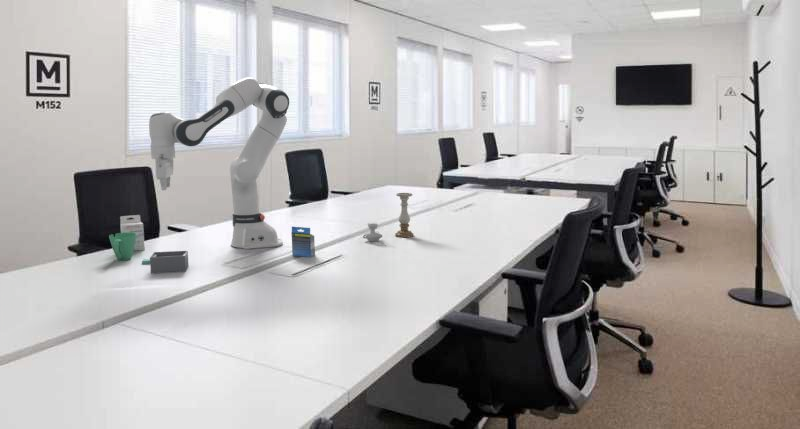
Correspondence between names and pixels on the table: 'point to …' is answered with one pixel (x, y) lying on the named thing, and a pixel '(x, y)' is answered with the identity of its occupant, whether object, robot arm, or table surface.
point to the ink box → (133, 230)
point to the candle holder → (404, 216)
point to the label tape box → (302, 242)
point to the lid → (146, 261)
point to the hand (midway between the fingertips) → (166, 188)
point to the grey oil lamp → (372, 233)
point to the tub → (169, 262)
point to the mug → (123, 245)
